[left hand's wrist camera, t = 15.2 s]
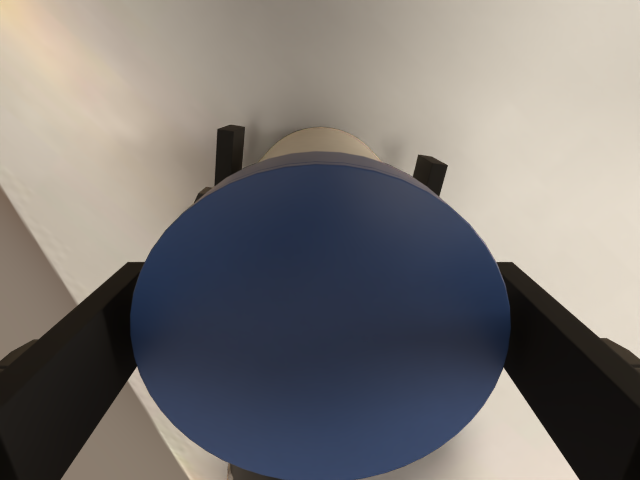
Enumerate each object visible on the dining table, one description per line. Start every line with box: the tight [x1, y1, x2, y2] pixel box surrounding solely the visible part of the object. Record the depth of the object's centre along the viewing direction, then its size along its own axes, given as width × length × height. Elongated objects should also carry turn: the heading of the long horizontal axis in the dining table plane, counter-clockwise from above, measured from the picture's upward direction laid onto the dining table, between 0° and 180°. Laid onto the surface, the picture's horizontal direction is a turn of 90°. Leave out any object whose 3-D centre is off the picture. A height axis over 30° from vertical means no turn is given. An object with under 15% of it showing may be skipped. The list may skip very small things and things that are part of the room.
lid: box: [130, 151, 511, 480], centre depth 11 cm, size 10×10×2 cm
